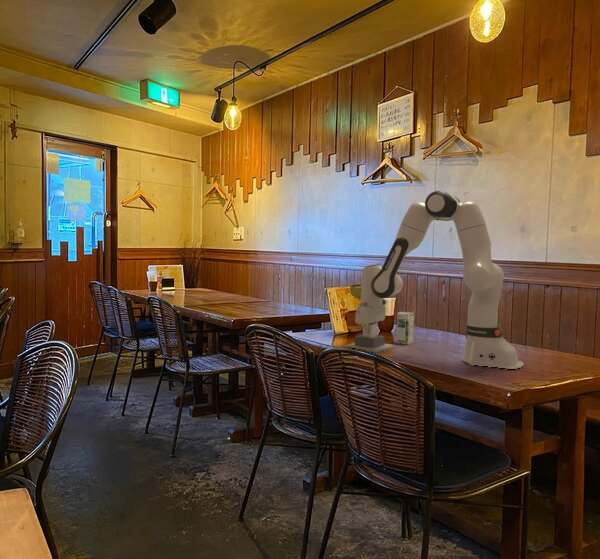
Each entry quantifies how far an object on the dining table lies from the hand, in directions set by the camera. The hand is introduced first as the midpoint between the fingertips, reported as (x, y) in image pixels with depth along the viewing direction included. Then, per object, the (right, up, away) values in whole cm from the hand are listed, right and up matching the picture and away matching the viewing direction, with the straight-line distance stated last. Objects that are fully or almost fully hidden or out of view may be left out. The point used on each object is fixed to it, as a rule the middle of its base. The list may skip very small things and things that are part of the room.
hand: (370, 332), depth 220 cm
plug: (0, -4, 0) cm, 4 cm away
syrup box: (+18, -6, +12) cm, 22 cm away
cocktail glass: (+2, -5, +29) cm, 30 cm away
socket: (0, -7, 0) cm, 7 cm away
